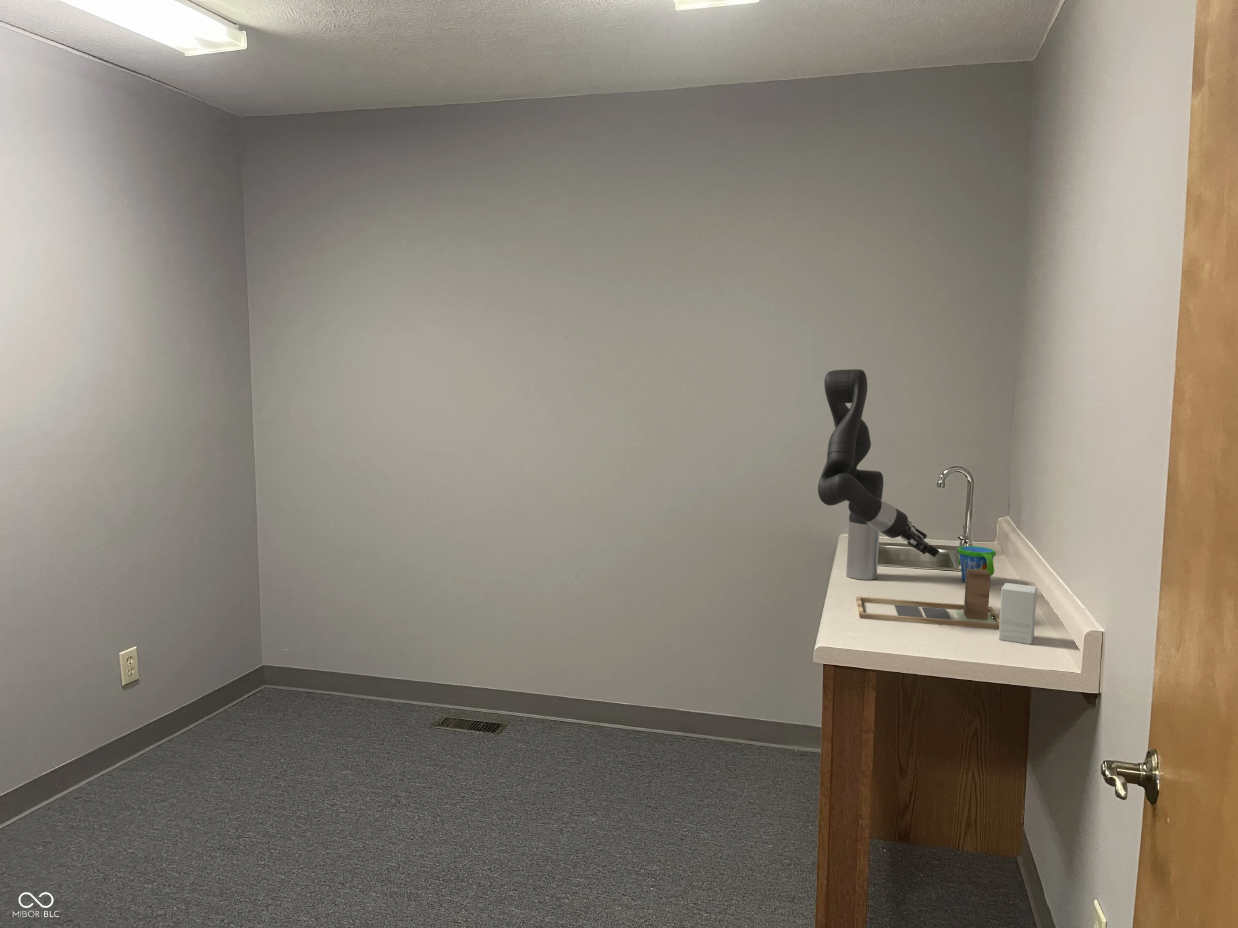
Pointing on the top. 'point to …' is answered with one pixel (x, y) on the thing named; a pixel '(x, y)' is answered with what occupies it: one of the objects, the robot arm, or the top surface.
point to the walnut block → (977, 594)
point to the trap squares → (928, 612)
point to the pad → (962, 618)
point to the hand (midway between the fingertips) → (930, 545)
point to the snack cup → (976, 559)
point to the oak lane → (920, 619)
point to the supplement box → (1017, 613)
